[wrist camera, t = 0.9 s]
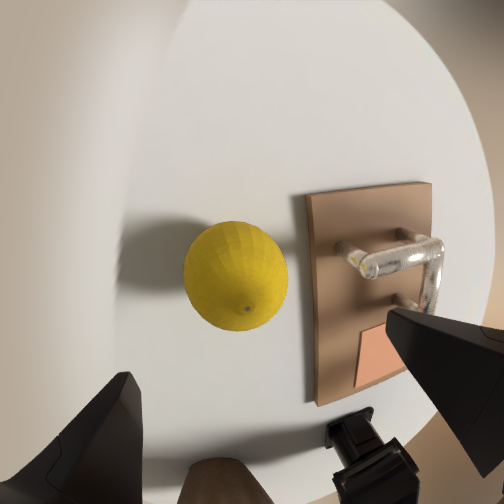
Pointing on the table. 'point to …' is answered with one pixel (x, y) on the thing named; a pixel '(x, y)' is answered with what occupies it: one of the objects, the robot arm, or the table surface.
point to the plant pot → (222, 484)
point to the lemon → (235, 276)
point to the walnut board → (358, 274)
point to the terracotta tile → (376, 356)
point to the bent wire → (402, 265)
